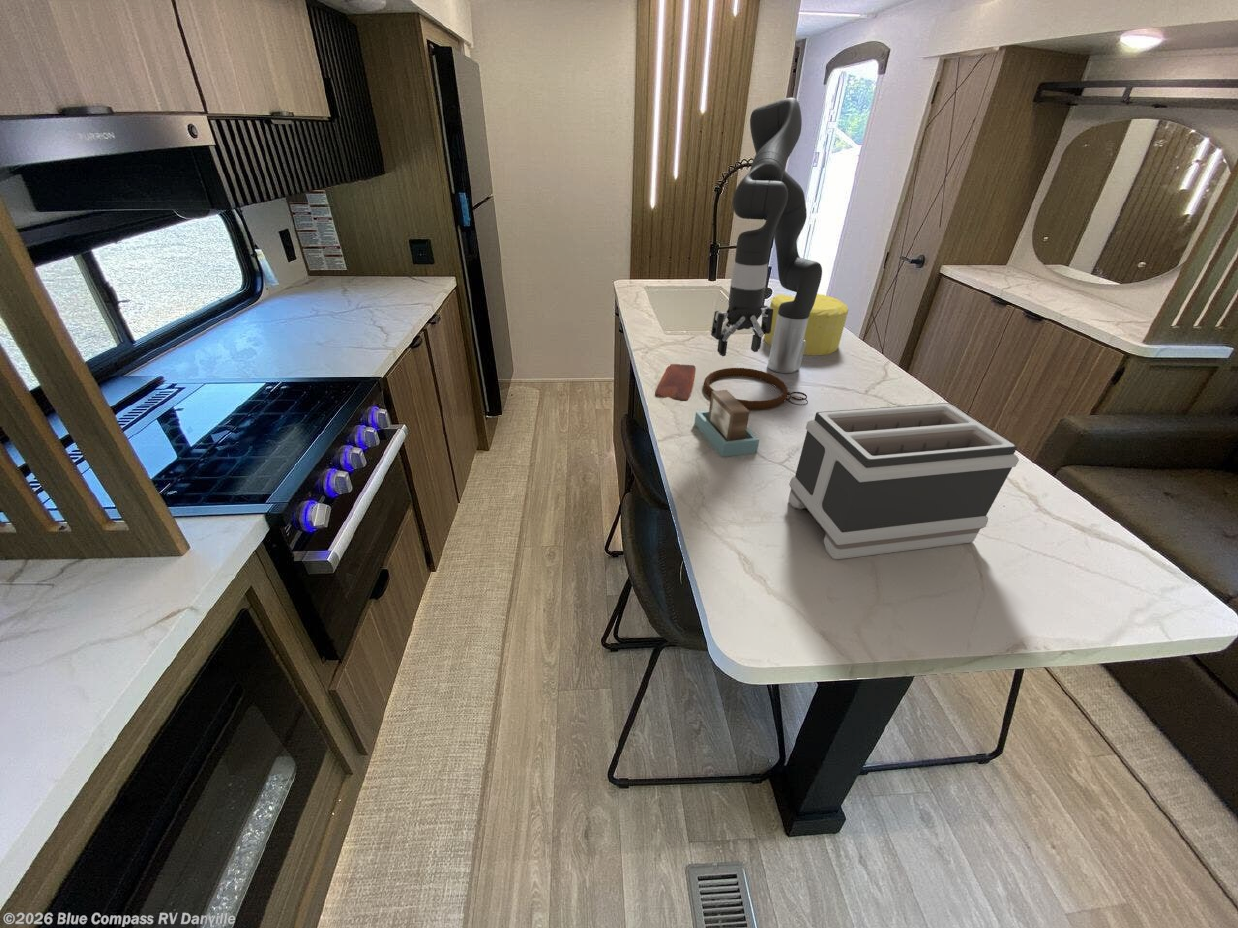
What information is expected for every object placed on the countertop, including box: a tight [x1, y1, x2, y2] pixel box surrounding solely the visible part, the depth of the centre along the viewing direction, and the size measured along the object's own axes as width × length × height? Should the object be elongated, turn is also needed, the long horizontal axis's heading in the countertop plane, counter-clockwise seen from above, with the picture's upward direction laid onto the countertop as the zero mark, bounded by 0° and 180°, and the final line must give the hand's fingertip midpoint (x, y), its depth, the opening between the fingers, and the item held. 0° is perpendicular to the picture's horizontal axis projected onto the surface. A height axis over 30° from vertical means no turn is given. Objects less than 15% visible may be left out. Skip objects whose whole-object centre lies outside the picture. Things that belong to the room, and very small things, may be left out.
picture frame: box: [708, 389, 751, 442], centre depth 124 cm, size 12×4×9 cm, turn 16°
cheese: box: [763, 293, 849, 356], centre depth 183 cm, size 26×26×15 cm
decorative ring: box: [702, 367, 809, 411], centre depth 149 cm, size 24×3×30 cm
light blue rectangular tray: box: [694, 409, 760, 458], centre depth 126 cm, size 16×9×4 cm, turn 16°
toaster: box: [788, 402, 1020, 560], centre depth 96 cm, size 18×34×21 cm, turn 101°
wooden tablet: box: [654, 363, 696, 402], centre depth 155 cm, size 27×10×2 cm, turn 166°
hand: (738, 353), depth 122 cm, fingers open, 8 cm apart
